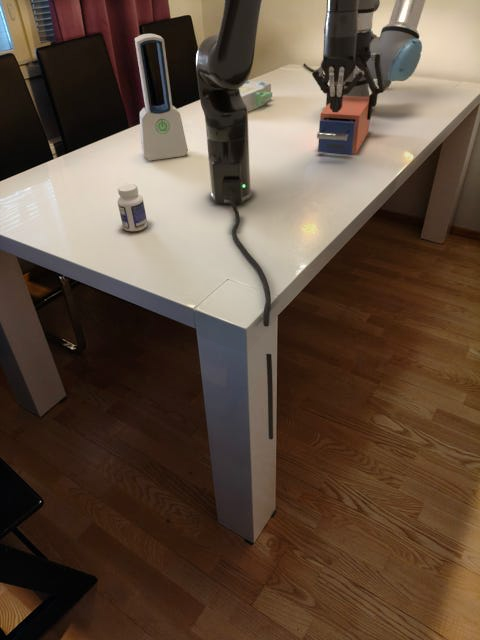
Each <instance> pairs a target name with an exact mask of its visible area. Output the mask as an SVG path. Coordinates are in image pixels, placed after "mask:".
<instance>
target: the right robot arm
mask: <svg viewBox="0 0 480 640" xmlns="http://www.w3.org/2000/svg"><path fill="white" fill-rule="evenodd" d="M375 1H376V0H359V1H358V9H357V10H358V28H357V40H356V53H355V60H356V62H357V67H358V68H359V69H360V70H363V71H364V72H365V73H364V75H363V76H362V78H361V79H360V80H359V81H358V82H357V84H356V85H355V86H354V87H353V89H352V90H351V91H350V92H349V93H348V94H345V95H343V96H362V97H369V106H368V115H367V120H371V119H372V114H373V108H376V106H377V103H378V95H380V94H383V93H384V92H385V90H386V89H385V85H384V80H390V81H392V82H405V81H407V80H408V79H409V78H410V77H412V76H413V74H414V72H415V71H416V69H417V67H418V65H419V63H420V60H421V56H422V54H421V53H422V51H423V44H422V41H421V40H420V33H419V31H418V26H419V23H420V20H421V16H422V13H423V10H424V6H425V3H426V0H395V1H394V5H393V8H392V11H391V15H390V18H389V22H388V23H387V24H386V25H385V26H383V27H381V28H382V29H381V31H380V35H379V36H377V37H373V35H374V34H375V33H374V32H373V30H372V28H373V23H374V22H373V21H374V20H373V19H374V12H373V11H374V2H375ZM370 29H371V31H369V30H370ZM303 66H304V68H306V69H307V70H308V71H311V72H312V73H313V72H314V71H315V70H316V69H313V68H311V67H309V66H308V65H307V64H306V63H303ZM353 74H354V71H353V72H352V73H351V75H350V76H349V77H348V78H347V79H346V82H345V86H344V88H347V87H348V86H349V84H350V83H351V82H352V81H353V79H354V78H353ZM323 78H324V79H325V81H326V82H327V84H328V85H329V79H328V78H327V77H326V75H325V73H323ZM375 80H376V81H375ZM377 82H378V85H377ZM337 85H338V81H337ZM329 87H330V86H329ZM337 88H338V86H337ZM369 90H370V91H369ZM370 92H371V93H370ZM329 103H330V95H329V94H327V93H326V100H325V108H326V107H327V106H328V104H329Z"/></svg>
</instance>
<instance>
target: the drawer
mask: <svg viewBox="0 0 480 640" xmlns="http://www.w3.org/2000/svg"><path fill="white" fill-rule="evenodd" d="M318 124H319V125H318V131H317V134H316V139H318V142H317V143H318V145H317V151H318V152H319V153H331V154H346V155H353V154H352V153H353V143H354V132H355V119H340V118H326V120H320V119H319V123H318Z"/></svg>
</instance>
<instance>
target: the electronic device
mask: <svg viewBox="0 0 480 640" xmlns="http://www.w3.org/2000/svg"><path fill="white" fill-rule="evenodd" d="M150 43H156V48H157V55H158V64H159V70H160V77H161V85H162V92H163V101H164V103H163V104H159V105H152V101H151V100H152V99H151V94H150V93H151V91H150V86H149V80H148V74H147V66H146V61H145V53H144V47H143V46H144V45H147V44H150ZM134 44H135V51H136V52H135V53H136V57H137V64H138V69H139V75H140V83H141V89H142V96H143V102H144V107H142V108H141V110H140V111H139V130H140V143H141V144H140V145H141V151H142V154H143V157H144V158H145V159H146V160H148V162H149V161H156V160H164V159H170V158H172V159H173V158H178V157H185V156H186V154H187V153H188V152H189V149H188V144H187V139H186V134H185V129H184V126H183V120H182V116H181V112H180V111H179V110H178V108H177V107H175V106H174V105H173V100H172V99H173V98H172V93H171V85H170V77H169V69H168V60H167V53H166V45H165V39H164V38H163V37H162V36H161V35H158V34H155V33H143V34H139V35H138V36H136V37H135V38H134Z"/></svg>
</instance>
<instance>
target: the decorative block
mask: <svg viewBox="0 0 480 640" xmlns="http://www.w3.org/2000/svg"><path fill="white" fill-rule="evenodd" d="M239 91H240V95H241V97H242V99H243V101H244V103H245V104H246V106H247V110H248V113H249V112H251V111H253V110H256V109H258V108H261V107H263V106H265V105H267V102H270V101H271V100H272V97H273V92H272V83H271V82H270V83H269V82H264V81H251V80H248V79H247V81H246V82H245V84H244V85H243V86H242V87H241V88H239Z"/></svg>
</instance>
